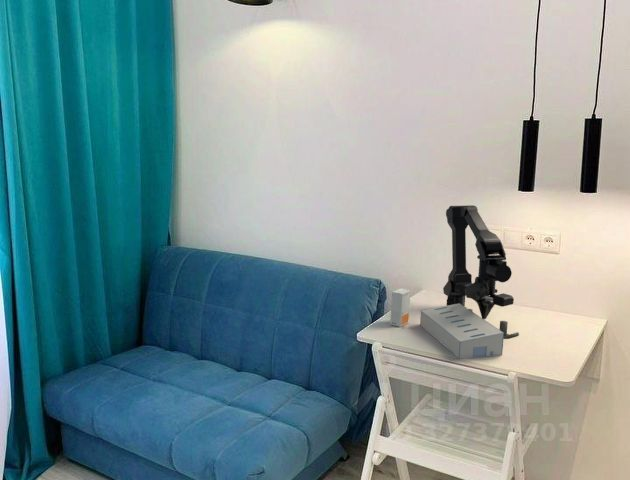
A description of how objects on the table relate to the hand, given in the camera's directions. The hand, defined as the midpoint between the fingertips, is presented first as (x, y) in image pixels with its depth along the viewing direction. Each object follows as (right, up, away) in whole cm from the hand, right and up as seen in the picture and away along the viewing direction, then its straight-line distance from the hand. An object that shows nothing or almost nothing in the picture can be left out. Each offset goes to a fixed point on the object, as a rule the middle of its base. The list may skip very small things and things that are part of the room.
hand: (484, 318), depth 204 cm
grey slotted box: (-10, -6, -7) cm, 14 cm away
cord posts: (+1, -3, +4) cm, 5 cm away
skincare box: (-28, -3, +6) cm, 29 cm away
